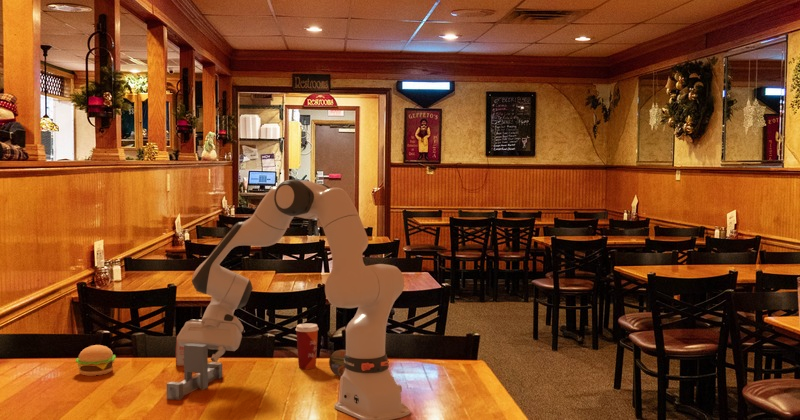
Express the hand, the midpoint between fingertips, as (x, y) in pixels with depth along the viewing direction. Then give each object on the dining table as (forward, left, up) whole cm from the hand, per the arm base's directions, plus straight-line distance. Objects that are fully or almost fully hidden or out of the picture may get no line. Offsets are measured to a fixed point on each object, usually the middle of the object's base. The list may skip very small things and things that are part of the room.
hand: (199, 359), depth 226 cm
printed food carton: (+25, -2, -8) cm, 27 cm away
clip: (-2, +2, -8) cm, 8 cm away
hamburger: (+30, +26, -8) cm, 41 cm away
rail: (-2, +2, -8) cm, 8 cm away
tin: (-14, -44, -8) cm, 47 cm away
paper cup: (+3, -36, -8) cm, 37 cm away
